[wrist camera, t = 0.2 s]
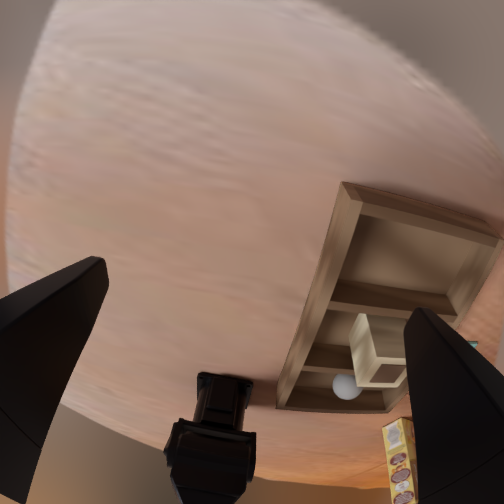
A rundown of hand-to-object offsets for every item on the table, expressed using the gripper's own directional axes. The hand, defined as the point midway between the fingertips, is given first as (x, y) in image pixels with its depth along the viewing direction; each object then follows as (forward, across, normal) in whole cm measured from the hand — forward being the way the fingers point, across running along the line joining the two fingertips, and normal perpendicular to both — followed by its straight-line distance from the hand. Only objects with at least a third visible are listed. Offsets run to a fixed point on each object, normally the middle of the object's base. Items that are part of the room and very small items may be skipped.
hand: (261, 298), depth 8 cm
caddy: (+14, -12, +13) cm, 22 cm away
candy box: (+14, -28, +36) cm, 48 cm away
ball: (+14, -12, +20) cm, 27 cm away
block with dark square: (+14, -12, +13) cm, 22 cm away
